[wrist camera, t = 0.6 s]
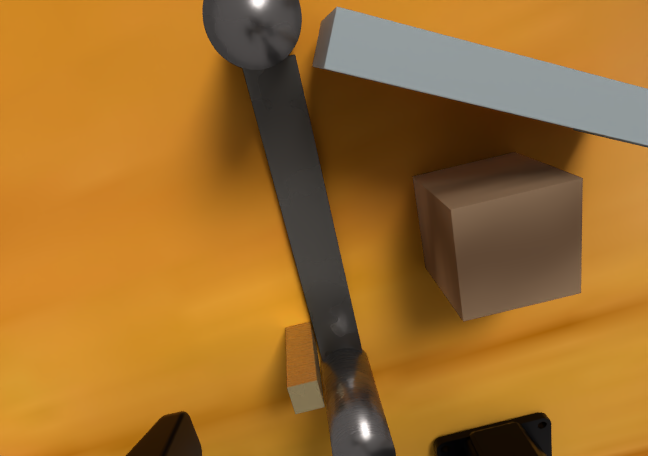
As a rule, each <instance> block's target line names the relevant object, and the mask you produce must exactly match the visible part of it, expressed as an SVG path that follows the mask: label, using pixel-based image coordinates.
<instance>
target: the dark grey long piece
mask: <svg viewBox="0 0 648 456" xmlns="http://www.w3.org/2000/svg"><path fill="white" fill-rule="evenodd" d="M203 22H204V27H205V30H206V33H207V36H208V38H209V40H210V42H211V43H212V45H213V46H214V48H215V49H216V50H217V52H218V53H219V54H220V55H221V56H222V57H223V58H225V59H226V60H227V61H229V62H230V63H232V64H234V65H236V66H238V67H241V68H242V69H243V72H244V76H245V80H246V83H247V87H248V91H249V94H250V98H251V102H252V105H253V109H254V112H255V116H256V120H257V123H258V127H259V131H260V134H261V138H262V142H263V145H264V149H265V153H266V156H267V160H268V164H269V167H270V171H271V175H272V178H273V182H274V185H275V189H276V193H277V196H278V200H279V204H280V207H281V211H282V215H283V218H284V222H285V226H286V229H287V233H288V237H289V240H290V244H291V248H292V251H293V255H294V259H295V262H296V266H297V269H298V273H299V277H300V280H301V284H302V288H303V291H304V295H305V299H306V302H307V306H308V310H309V313H310V317H311V321H312V324H313V328H314V332H315V335H316V339H317V343H318V346H319V350H320V353H321V357H322V361H321V372H322V379H323V387H324V394H325V402H326V409H327V417H328V424H329V432H330V439H331V446H332V454H333V456H396V452H395V448H394V445H393V442H392V438H391V435H390V432H389V428H388V425H387V421H386V418H385V415H384V411H383V408H382V405H381V401H380V398H379V394H378V391H377V388H376V384H375V381H374V378H373V374H372V371H371V367H370V364H369V361H368V357H367V355H366V353H365V352H364V351H363V350H362V348H361V343H360V339H359V334H358V330H357V326H356V321H355V317H354V312H353V308H352V303H351V299H350V295H349V290H348V286H347V281H346V277H345V273H344V268H343V264H342V259H341V255H340V251H339V246H338V242H337V237H336V233H335V228H334V224H333V220H332V215H331V211H330V206H329V202H328V198H327V193H326V189H325V184H324V180H323V176H322V171H321V167H320V162H319V158H318V153H317V149H316V145H315V140H314V136H313V131H312V127H311V123H310V118H309V114H308V109H307V105H306V101H305V96H304V92H303V87H302V83H301V78H300V74H299V70H298V65H297V61H296V56H295V55H291V56H288V55H289V54H290V53H291V51H292V50H293V48H294V47H295V45H296V43H297V41H298V38H299V35H300V30H301V22H302V16H301V8H300V4H299V0H204V1H203ZM286 365H287V389H288V392H289V395H290V398H291V401H292V405H293V408H294V411H295V414H298V413H303V412H307V411H311V410H315V409H319V408H323V407H325V405H324V398H323V390H322V382H321V375H320V367H319V359H318V352H317V345H316V341H315V337H314V334H313V330H312V327H311V323H310V322H308V323H304V324H299V325H295V326H291V327H287V328H286Z"/></svg>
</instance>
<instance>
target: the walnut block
mask: <svg viewBox="0 0 648 456" xmlns="http://www.w3.org/2000/svg"><path fill="white" fill-rule="evenodd" d="M582 181H583V178H581V177H578V176H576V175H573V174H570V173H568V172H565V171H563V170H560V169H557V168H555V167H552V166H550V165H547V164H544V163H542V162H539V161H537V160H534V159H531V158H529V157H526V156H524V155H521V154H518V153H516V152H513V153H508V154H504V155H500V156H496V157H492V158H488V159H483V160H479V161H475V162H471V163H467V164H463V165H458V166H454V167H450V168H446V169H442V170H438V171H433V172H429V173H425V174H421V175H417V176H413V183H414V190H415V197H416V204H417V211H418V218H419V225H420V232H421V239H422V246H423V253H424V260H425V267H426V269H427V271H428V272H429V274H430V275H431V276H432V278H433V279H434V281H435V282H436V283H437V285H438V286H439V288H440V289H441V291H442V292H443V293H444V295H445V296H446V298H447V299H448V301H449V302H450V303H451V305H452V306H453V308H454V309H455V311H456V312H457V313H458V315H459V316H460V318H461V319H462V320H463V321H467V320H471V319H476V318H480V317H484V316H488V315H492V314H496V313H500V312H505V311H509V310H513V309H517V308H521V307H525V306H529V305H533V304H538V303H542V302H546V301H550V300H554V299H558V298H562V297H566V296H571V295H575V294H579V293H581V252H582Z"/></svg>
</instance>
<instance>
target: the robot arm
mask: <svg viewBox="0 0 648 456" xmlns="http://www.w3.org/2000/svg"><path fill="white" fill-rule="evenodd" d="M434 448H435V454H436V456H552V447H551V421H550V419H549V418H548V417H547V415H546V414H544V413H535V414H531V415H527V416H523V417H519V418H515V419H511V420H507V421H503V422H499V423H495V424H491V425H487V426H483V427H479V428H475V429H470V430H466V431H462V432H458V433H454V434H450V435H446V436H442V437H439V438H438V439H437V440H436V441H435V442H434ZM126 456H202V449H201V444H200V442H199V439H198V436H197V434H196V431H195V429H194V426H193V424H192V421H191V419H190V416H189V415H188V414H187V413H186V412H184V411H181V412H177V413H172V414H167V415H164V416H163V417H161V418H160V419H159V420H158V421H157V422H156V424H155V425H154V426H153V427H152V428H151V429H150V430H149V431H148V432H147V433H146V434H145V435H144V437H143V438H142V439H141V440H140V441H139V442H138V443H137V444H136V445H135V446H134V447H133V448H132V450H131V451H130V452H129V453H128V454H127V455H126Z"/></svg>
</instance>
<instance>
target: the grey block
mask: <svg viewBox="0 0 648 456" xmlns="http://www.w3.org/2000/svg"><path fill="white" fill-rule="evenodd" d="M313 67H317V68H321V69H325V70H329V71H334V72H338V73H342V74H346V75H350V76H355V77H359V78H363V79H367V80H371V81H376V82H380V83H384V84H388V85H392V86H397V87H401V88H405V89H409V90H413V91H418V92H422V93H426V94H430V95H434V96H439V97H443V98H447V99H451V100H455V101H460V102H464V103H468V104H472V105H476V106H481V107H485V108H489V109H493V110H497V111H502V112H506V113H510V114H514V115H518V116H523V117H527V118H531V119H535V120H539V121H544V122H548V123H552V124H556V125H560V126H565V127H569V128H573V130H576V131H580V132H584V133H588V134H593V135H597V136H601V137H605V138H610V139H614V140H618V141H622V142H627V143H631V144H635V145H639V146H644V147H648V89H646V88H642V87H638V86H635V85H631V84H627V83H623V82H620V81H616V80H612V79H608V78H604V77H601V76H597V75H593V74H589V73H586V72H582V71H578V70H574V69H570V68H567V67H563V66H559V65H555V64H552V63H548V62H544V61H540V60H536V59H533V58H529V57H525V56H521V55H518V54H514V53H510V52H506V51H502V50H499V49H495V48H491V47H487V46H484V45H480V44H476V43H472V42H468V41H465V40H461V39H457V38H453V37H450V36H446V35H442V34H438V33H435V32H431V31H427V30H423V29H419V28H416V27H412V26H408V25H404V24H401V23H397V22H393V21H389V20H385V19H382V18H378V17H374V16H370V15H367V14H363V13H359V12H355V11H351V10H348V9H344V8H340V7H336V8H335V9H334V10H333V11H332V12H331V13H330V14H329V15H328V16H327V17H326V18H325V19H324V20H322V21H321V26H320V31H319V36H318V41H317V46H316V51H315V56H314V61H313Z"/></svg>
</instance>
